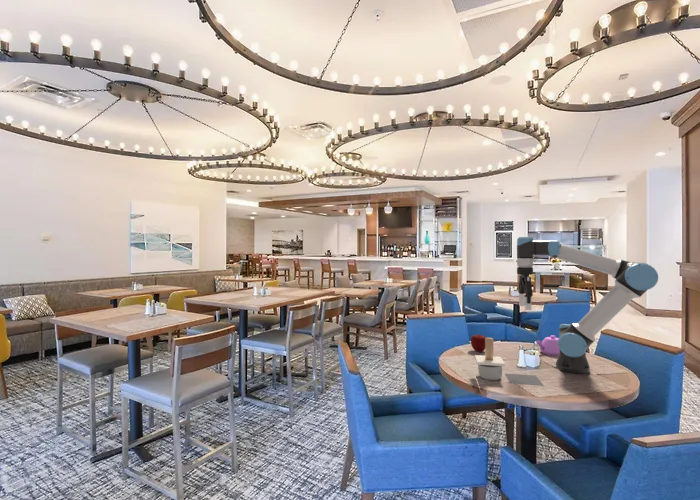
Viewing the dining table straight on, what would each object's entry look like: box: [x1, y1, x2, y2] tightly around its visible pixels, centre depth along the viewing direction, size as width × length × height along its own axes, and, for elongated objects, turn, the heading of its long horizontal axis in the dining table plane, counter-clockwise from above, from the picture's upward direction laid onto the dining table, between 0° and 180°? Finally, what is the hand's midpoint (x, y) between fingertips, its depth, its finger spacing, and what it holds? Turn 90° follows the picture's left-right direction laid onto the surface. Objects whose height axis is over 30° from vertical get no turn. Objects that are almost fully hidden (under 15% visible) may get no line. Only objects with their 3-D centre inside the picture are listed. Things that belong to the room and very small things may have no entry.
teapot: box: [535, 335, 560, 357], centre depth 222 cm, size 14×20×11 cm
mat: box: [504, 373, 545, 387], centre depth 173 cm, size 14×14×1 cm
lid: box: [474, 337, 506, 367], centre depth 177 cm, size 12×12×11 cm
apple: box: [470, 334, 487, 353], centre depth 226 cm, size 10×10×10 cm
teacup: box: [477, 364, 503, 381], centre depth 177 cm, size 14×11×8 cm
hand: (525, 308), depth 191 cm, fingers open, 13 cm apart
